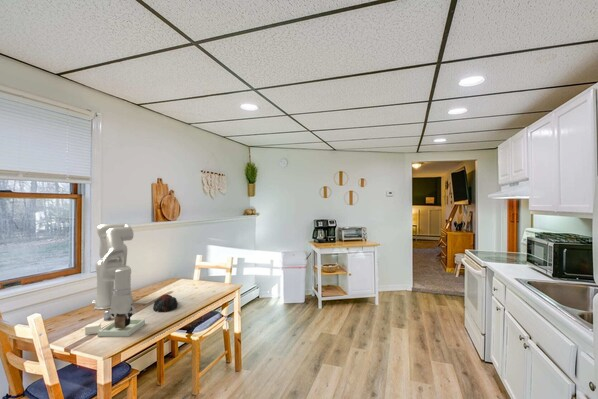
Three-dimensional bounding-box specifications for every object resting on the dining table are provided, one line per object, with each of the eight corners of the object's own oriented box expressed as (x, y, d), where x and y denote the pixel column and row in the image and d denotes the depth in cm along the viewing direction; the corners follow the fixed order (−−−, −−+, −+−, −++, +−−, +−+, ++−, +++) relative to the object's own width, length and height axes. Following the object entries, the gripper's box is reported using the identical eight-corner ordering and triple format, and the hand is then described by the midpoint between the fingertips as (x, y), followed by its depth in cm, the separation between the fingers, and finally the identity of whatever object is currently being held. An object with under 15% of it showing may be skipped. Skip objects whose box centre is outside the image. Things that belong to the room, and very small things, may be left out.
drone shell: (167, 313, 185) (167, 300, 185) (141, 310, 190) (141, 298, 190) (188, 302, 205) (188, 291, 205) (164, 300, 210) (164, 289, 210)
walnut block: (114, 328, 158) (114, 316, 158) (120, 324, 163) (120, 313, 163) (124, 328, 158) (124, 316, 158) (129, 324, 163) (129, 313, 163)
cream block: (85, 335, 155) (85, 327, 155) (87, 331, 158) (87, 324, 158) (98, 333, 157) (98, 325, 157) (100, 330, 160) (100, 322, 160)
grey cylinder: (102, 320, 173) (102, 312, 174) (106, 318, 177) (106, 309, 178) (108, 320, 173) (108, 312, 174) (113, 318, 177) (113, 309, 178)
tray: (97, 336, 152) (97, 331, 152) (117, 323, 168) (117, 319, 168) (128, 336, 152) (128, 331, 152) (145, 323, 168) (145, 319, 168)
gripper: (102, 293, 157) (102, 328, 157) (134, 293, 157) (134, 328, 157) (111, 289, 165) (111, 322, 164) (141, 289, 164) (141, 322, 164)
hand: (122, 324), depth 160 cm, fingers closed on walnut block, 4 cm apart
